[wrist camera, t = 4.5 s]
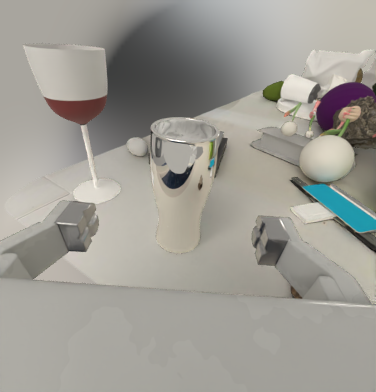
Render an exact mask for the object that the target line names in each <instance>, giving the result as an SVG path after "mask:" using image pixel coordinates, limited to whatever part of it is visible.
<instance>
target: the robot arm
mask: <svg viewBox="0 0 376 392" xmlns="http://www.w3.org/2000/svg"><path fill="white" fill-rule="evenodd" d="M95 211H96V207H95V204H94V203H88V202H77V201H65V200H62V201H60V202H59V203H58V204H57V205H56V207H55V208H54V209H53V210H52V211H51V212H50V214H49V215H48V216H47V217H46V218H45V220H44V221H43V222H38V223H36V224H34V225H32V226H30V227H28V228H25V229H23V230H22V231H19V232H17V233H15V234H13V235H11V236H9V237H7V238H5V239H3V240H1V241H0V392H376V304H372V303H371V302H370V300H369V299H368V297H367V296H366V294H365V293H364V291H363V290H362V288H361V287H360V285H359V284H358V282H357V281H356V279H355V278H354V277H353V276H352V275H350V274H349V273H348V272H346V271H345V270H344V269H342V268H341V267H340V266H338V265H337V264H335V263H334V262H333V261H331V260H330V259H329V258H327V257H326V256H325V255H323V254H322V253H321V252H319V251H318V250H316V249H315V248H314V247H312V246H311V245H310V244H308V243H307V242H303V241H302V239H301V237H300V235H299V233H298V231H297V229H296V227H295V226H294V224H293V222H292V220H291V218H289V217H273V216H258V217H257V219H256V224H257V226H255V227H254V228H253V231H252V244H253V247H254V248H256V251H255V256H256V259H257V263H258V264H259V265H269V266H275V267H276V269H277V270H278V271H279V272H280V273H281V274H282V275H283V276H284V278H285V279H286V280H287V281H288V282H289V283H290V284H291V285H292V287H293V288H294V289H295V290H296V291H297V292H298V293H299V295H300V296H301V297H302V299H296V298H283V297H269V296H255V295H241V294H226V293H212V292H198V291H184V290H170V289H156V288H142V287H128V286H115V285H101V284H86V283H72V282H58V281H44V280H33V279H34V278H36V277H37V276H38V275H39V274H41V273H42V272H43V271H44V270H46V269H47V268H48V267H50V266H51V265H52V264H54V263H55V262H56V261H57V260H59V259H60V258H61V257H63V256H64V255H65V254H66V253H68V251H78V252H86V251H87V250H88V248H89V246H90V244H91V242H92V240H91V237H92V236H94V235H95V234H96V232H97V230H98V226H99V219H98V216H97V215H96V214H95Z"/></svg>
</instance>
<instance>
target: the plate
mask: <svg viewBox="0 0 376 392" xmlns="http://www.w3.org/2000/svg"><path fill="white" fill-rule="evenodd" d="M316 102H317V100H314V101H313V103H311V104H308V103H303V102H301V103H302V104H301V106H300V108H299V109H298V111H297V113H296V115H295V117H299V118H303V119H308V120H311V118H310V117H309V114H310V112H312V110H313V108H314V106H315V104H316ZM298 103H299V102H298V101H293V100H288V99H283V98H280V99H279V100H278V102H277V105H276V108H277V109H278V110H280V111H282V112H284V113H286V112H287V111H289V110H291V109H293V108H294V107H295V106H296V105H297V104H298ZM316 110H317V108H316ZM316 110H315V111H316ZM315 111H314V112H313V113H314V114H313V115H315V118H314V120H313V121H317V118H316V112H315ZM294 113H295V111H293V112H292V113H291V114H289V115H292V116H293V115H294Z"/></svg>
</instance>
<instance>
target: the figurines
mask: <svg viewBox="0 0 376 392" xmlns="http://www.w3.org/2000/svg"><path fill="white" fill-rule="evenodd" d="M320 103H321V102H320V101H317V102H316V104H315V106H314V108H313V110H312V112H310V114H309V117H310V118H311V120H310V124H309V131H307V132H306V133H305V136H306V137H307V138H311V137H313V135H314V132H313V131H312V130H311V125H312V122H313V120H314V118H315V115H313V114H314V113H313V112H314V111H315V110H316V108H317V107H318V106H319V104H320ZM301 104H302V103H301V102H299V103H298V104H297V105H296V106H295V107H294V108H293V109H291V110H289V111H287V112H286V113H285V115H284V117H286V116H288V115H289V114H291V113H292V112H293V111H295V113H294V115H293V119H292V121H287V122H285V123H284V124H283V125H282V127H281V132H282V134H283V135H285V136H292V135H294V134H295V133H296V131H297V124H296V123H295V122H293V120H294V117H295V115H296V113H297V111H298V109H299V108H300V106H301ZM315 112H317V111H315ZM360 114H361V108H360V107H359V106H353V107H345V108H343V109H342V110H341V112H340V114H339V116H338V118H339V119H340V120H341V123H340V125H339V126H338V128H337V129H330V130H327V131H325V132H324V133H322V134H320V137H317V138H315V139H313V140H311V141H310V142H309V143H307V144H306V145H305V147H304V148H303V149H302V151H301V154H300V157H299V164H300V168H301V170H302V172H303V173H304V174H305V175H306V176H307V177H308V178H310V179H312V180H314V181H318V182H331V181H335V180H337V179H340V178H341V177H343V176H344V175H345V174H347V173H348V171H349V170H350V169H351V167H352V165H353V162H354V151H353V148H352V146H351V145H350V144H349V142H347V141H346V140H345V139H343V138H341V136H342V135H343V133H344V132H345V130H346V128H347V126H348V124H349V122H353V121H355V120H357V119H358V118H359V116H360ZM344 122H345V124H344ZM343 124H344V126H343V128H342V129H339V128H340V127H341V126H342V125H343ZM338 133H339V135H338V136H334V135H335V134H338ZM373 137H376V134H374V135H373Z"/></svg>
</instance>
